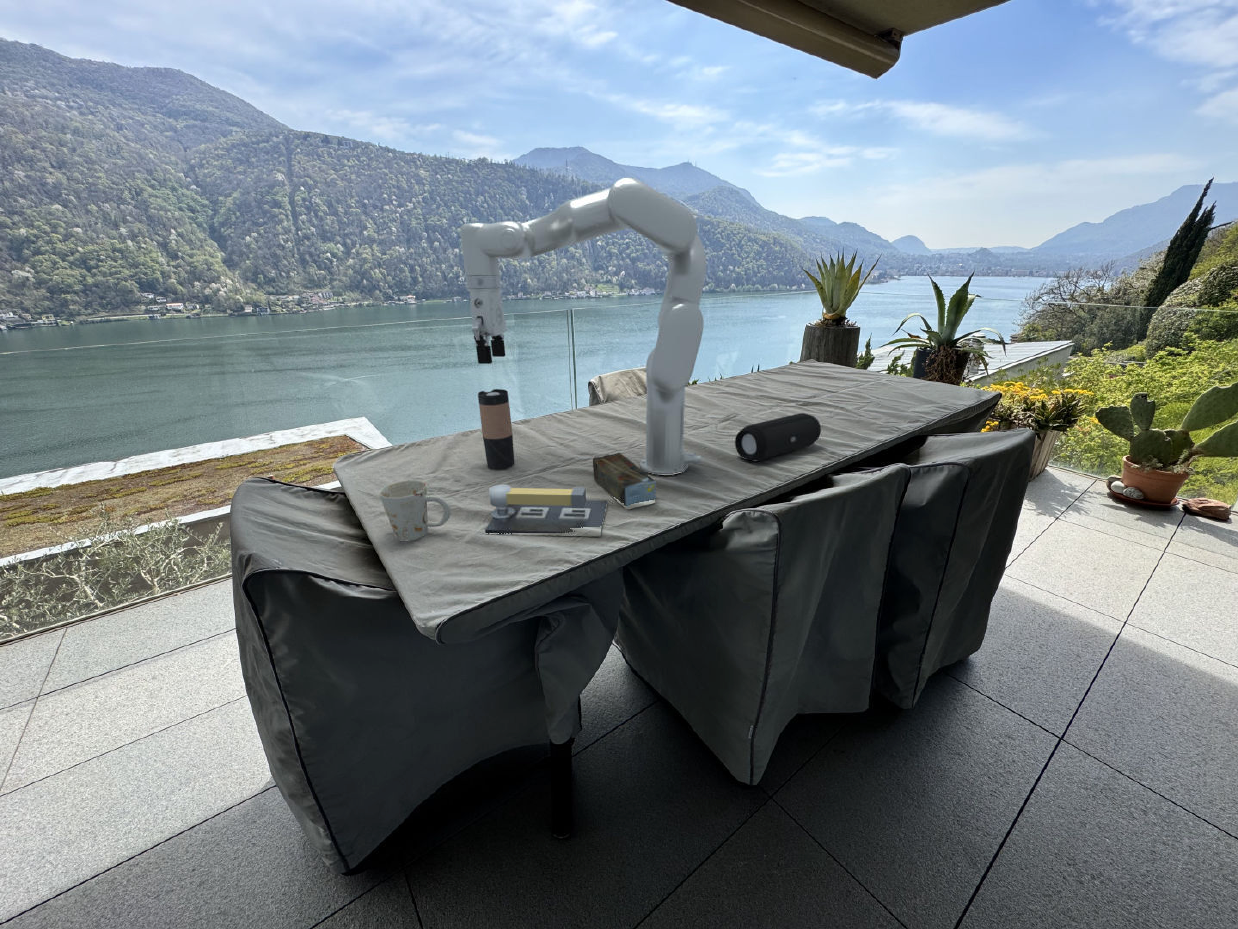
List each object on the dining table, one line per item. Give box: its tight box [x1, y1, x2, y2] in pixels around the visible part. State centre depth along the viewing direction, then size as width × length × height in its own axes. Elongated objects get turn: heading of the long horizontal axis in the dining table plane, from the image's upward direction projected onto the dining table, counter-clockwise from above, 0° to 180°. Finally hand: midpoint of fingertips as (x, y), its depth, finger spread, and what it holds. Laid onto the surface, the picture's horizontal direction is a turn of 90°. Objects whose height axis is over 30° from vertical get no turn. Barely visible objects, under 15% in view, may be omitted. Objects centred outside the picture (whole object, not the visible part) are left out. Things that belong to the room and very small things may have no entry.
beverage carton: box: [592, 452, 657, 506], centre depth 112 cm, size 8×19×7 cm, turn 25°
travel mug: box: [477, 388, 515, 471], centre depth 126 cm, size 8×8×20 cm
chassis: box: [484, 499, 608, 535], centre depth 100 cm, size 24×14×4 cm, turn 86°
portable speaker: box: [734, 412, 822, 461], centre depth 133 cm, size 26×10×10 cm, turn 122°
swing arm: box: [488, 484, 587, 508], centre depth 99 cm, size 20×4×3 cm, turn 86°
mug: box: [378, 479, 452, 541], centre depth 94 cm, size 8×13×10 cm, turn 95°
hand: (492, 359), depth 115 cm, fingers open, 9 cm apart
